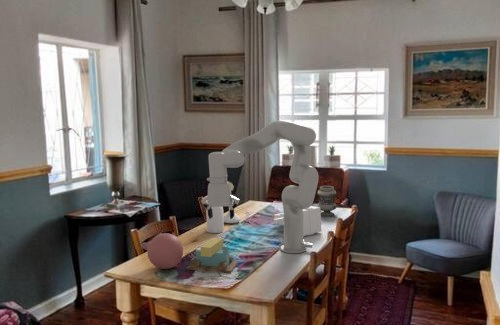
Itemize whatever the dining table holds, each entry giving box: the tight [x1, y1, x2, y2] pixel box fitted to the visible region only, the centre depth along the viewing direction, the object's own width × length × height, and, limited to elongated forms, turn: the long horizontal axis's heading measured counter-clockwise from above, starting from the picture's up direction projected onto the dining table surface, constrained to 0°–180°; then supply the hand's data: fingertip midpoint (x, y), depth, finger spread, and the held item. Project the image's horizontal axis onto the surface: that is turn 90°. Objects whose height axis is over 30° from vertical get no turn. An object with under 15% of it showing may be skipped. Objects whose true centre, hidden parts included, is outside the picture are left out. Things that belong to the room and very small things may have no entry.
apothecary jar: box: [316, 185, 338, 218], centre depth 284 cm, size 12×12×18 cm
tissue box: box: [273, 205, 322, 237], centre depth 252 cm, size 15×25×28 cm
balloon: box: [140, 232, 184, 270], centre depth 197 cm, size 15×20×15 cm
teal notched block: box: [195, 245, 230, 267], centre depth 198 cm, size 14×4×8 cm, turn 77°
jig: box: [186, 255, 239, 274], centre depth 198 cm, size 20×12×4 cm, turn 77°
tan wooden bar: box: [200, 237, 224, 257], centre depth 197 cm, size 4×14×4 cm, turn 160°
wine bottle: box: [205, 207, 225, 234], centre depth 250 cm, size 10×10×30 cm
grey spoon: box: [224, 180, 241, 224], centre depth 269 cm, size 13×11×25 cm
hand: (221, 218), depth 199 cm, fingers open, 9 cm apart
